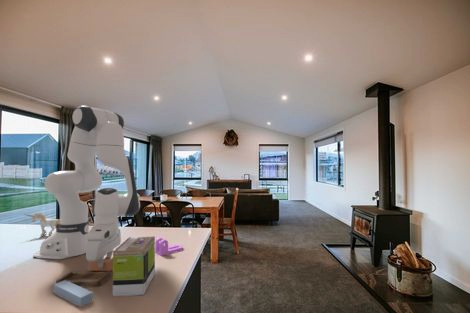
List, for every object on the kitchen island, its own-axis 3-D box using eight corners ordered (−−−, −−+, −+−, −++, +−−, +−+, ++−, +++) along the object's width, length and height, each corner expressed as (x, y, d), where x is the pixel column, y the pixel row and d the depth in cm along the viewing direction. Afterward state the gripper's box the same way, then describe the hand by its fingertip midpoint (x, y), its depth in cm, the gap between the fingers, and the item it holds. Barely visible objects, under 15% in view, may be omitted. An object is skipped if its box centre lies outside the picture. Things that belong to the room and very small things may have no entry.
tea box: (128, 275, 91) (129, 236, 91) (155, 274, 92) (156, 235, 92) (111, 297, 76) (112, 249, 76) (143, 296, 77) (144, 249, 77)
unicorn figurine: (31, 234, 143) (32, 212, 144) (67, 233, 147) (67, 211, 147) (22, 238, 136) (23, 214, 137) (60, 236, 140) (61, 213, 140)
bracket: (160, 256, 111) (160, 241, 111) (155, 253, 115) (155, 238, 115) (184, 249, 120) (185, 235, 120) (179, 246, 124) (179, 233, 124)
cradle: (55, 287, 82) (56, 281, 82) (70, 276, 89) (70, 271, 89) (100, 286, 83) (100, 280, 83) (110, 276, 90) (110, 270, 90)
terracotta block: (89, 270, 94) (89, 251, 94) (94, 266, 98) (95, 247, 98) (120, 270, 94) (120, 251, 94) (124, 266, 98) (125, 247, 98)
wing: (53, 293, 78) (53, 284, 78) (65, 288, 81) (65, 279, 81) (80, 308, 70) (80, 297, 70) (92, 302, 73) (92, 292, 74)
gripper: (110, 222, 107) (109, 254, 106) (83, 236, 86) (81, 275, 86) (125, 223, 107) (124, 254, 106) (100, 236, 86) (99, 275, 86)
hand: (104, 264), depth 96 cm, fingers closed on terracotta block, 4 cm apart
